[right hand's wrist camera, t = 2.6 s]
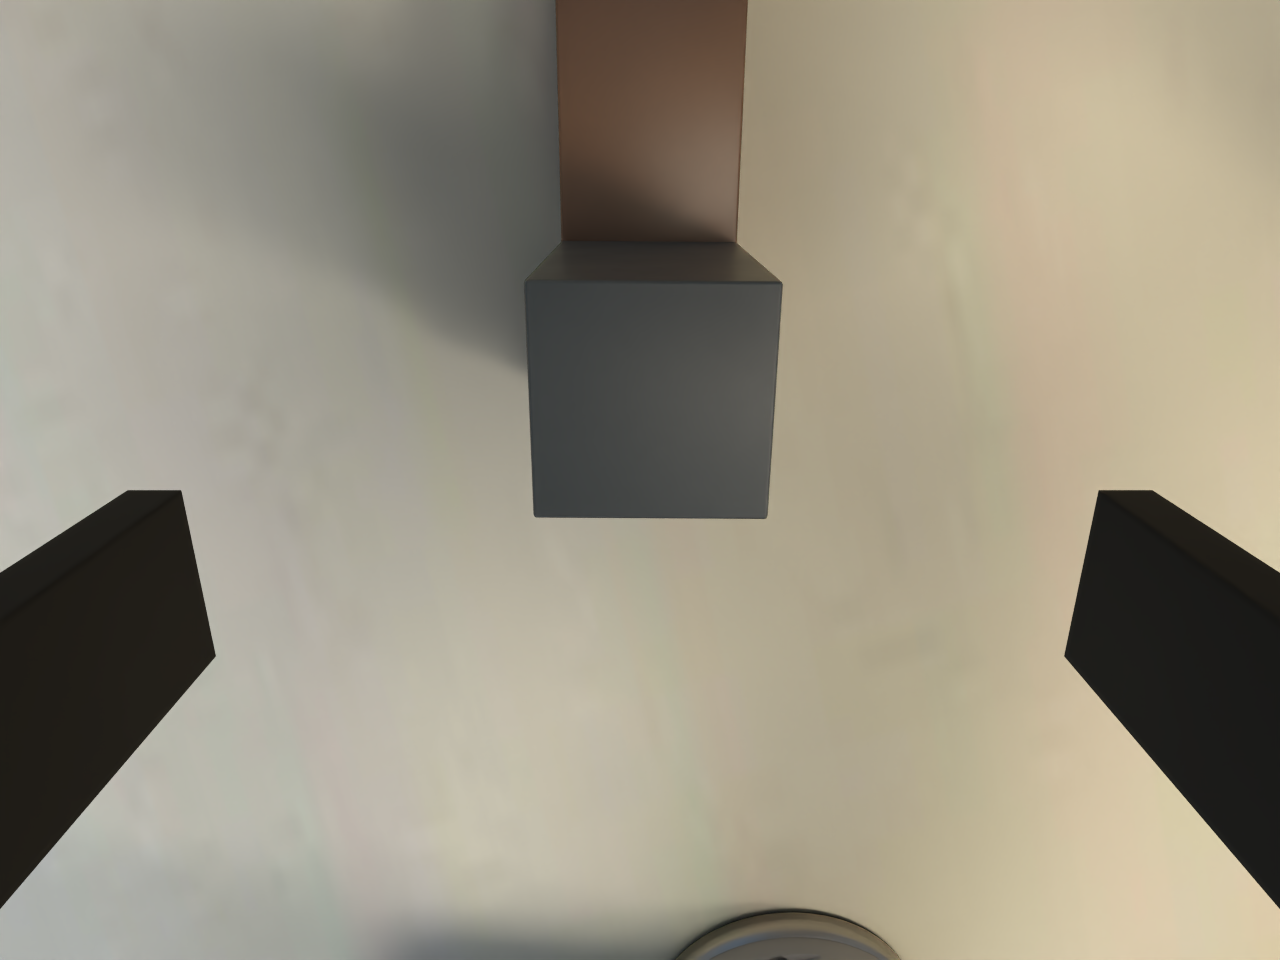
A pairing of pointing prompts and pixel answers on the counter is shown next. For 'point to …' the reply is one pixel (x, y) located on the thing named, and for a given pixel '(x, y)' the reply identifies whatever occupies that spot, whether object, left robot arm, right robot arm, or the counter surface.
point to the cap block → (651, 380)
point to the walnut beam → (650, 118)
